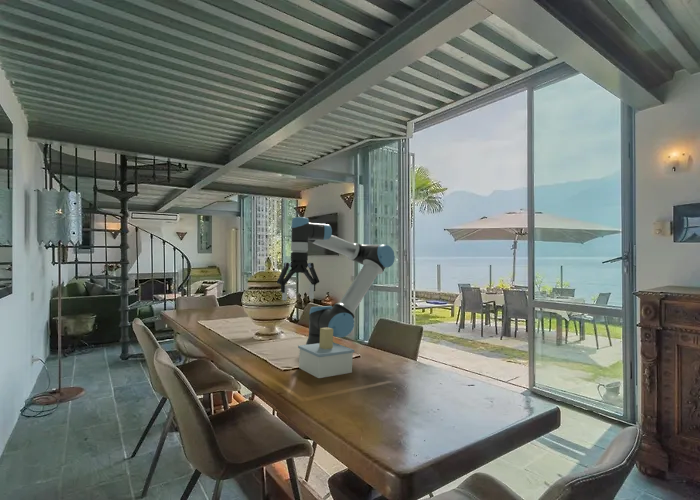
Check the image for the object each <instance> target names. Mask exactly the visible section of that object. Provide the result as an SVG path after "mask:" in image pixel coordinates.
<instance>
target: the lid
mask: <svg viewBox="0 0 700 500" xmlns="http://www.w3.org/2000/svg"><path fill="white" fill-rule="evenodd" d="M297 348H298V350H300V349H301V350H304V351H306V352H308V353H310V354H313V355H315V356H317V357H324V356H332V355H339V354H346V353H355V349H353V348H352V347H351V348H350V347H347V346H346V345H345V346H344V345H341V344H339V343H336V342H334V336H333V329H332V328H329V327H326V328H320V343H317V344H308V345H306V344H300V345H297Z"/></svg>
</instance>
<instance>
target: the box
mask: <svg viewBox="0 0 700 500" xmlns="http://www.w3.org/2000/svg"><path fill="white" fill-rule="evenodd" d="M353 353H354V352H353ZM353 353H346V354H339V355H332V356H324V357H317V356H315V355H313V354H310V353H308V352H306V351H304V350H301V349H299V355H298V357H299V359H298V360H299V361H298V368H299V369H301V370H302V371H304V372H306V373H308V374H309V375H312V377H313V376H314V377H315V378H317V379H322V378H328V377H334V376H340V375H344V374H345V375H346V374H350V373H353Z"/></svg>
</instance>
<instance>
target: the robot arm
mask: <svg viewBox="0 0 700 500" xmlns="http://www.w3.org/2000/svg"><path fill="white" fill-rule="evenodd" d="M290 230H291V232H290V233H291V234H290V235H291V236H290V237H291V239H290V242H291V243H290V251H291V253H290V262H284V263H283V268H282V270H281V272H280V274H279V276H278V278H277V281H276V284H278V285H280V293H281V295H282V296H281V297H282V299H281V300H282V301H286V302H287V298H288V296H287V295H288V285H287V283H288V282H289V281H290V280H291V279H292V277H293V275H294V274H296V273H297V274H298V273H299V274H302V273H303V275H304V276H305V277H306V279H308V281H309V282H310V284H309V292H308V293H309V295H308V298H309V299H310V300H315V299H314V298H315V296H314V295H315V292H316V286H317V284H319V283H320V279H319V277H318V274H317V272H316V269H315V266H314V262H309V263H308V257H309V253H308V251H309V243H311V244H314V245H316V246H318V247H321V248H324V249H327V250H329V251H332V252H334V253H338V254H340V255H343V256H345V257H347V258H348V259H349V260H351V261H353V262H356V263H358V264H360V265H363V266H362V267H361V269H360V271H359V272H358V274H357V275H356V276H355V278H354V280H353V281H352V283H351V284H350V286H349V287H348V289H347V290H346V292H345V294H344V295H343V297H342V298H341V299H340V301H339V302H337V303H334V305H333V306H332V305H324V306H322V305H321V306H311V307H310V309H309V314H308V315H309V318H308V319H309V320H308V338H307V340H306V343H305V345H308V344H317V343H320V328H326V327H329V328H332V329H333V337H336V338H346V337H348V336H349V335H350V334H351V333H352V331H353V329H354V327H355V317H356V315H355V312H356V310H357V308H358V307H359V305H360V303H361V302H362V301H363V299H364V297H365V296H366V294H367V292H368V291H369V290H370V287H371V286H372V285H373V283H374V281H375V280H376V278H377V277H378V275H381V274H383V272H384V271H385V269H387V268H390V267H392V266H393V265H394V264H395V263H394V262H395V259H396V257H395V251H394V249H393V247H392V246H390V245H389V244H383V243H382V244H381V243H380V244H362V243H361V244H360V243H358V242H350V241H348V240H345V239H343V238H340V237H338V236H336V235H333V234H332V233H333V229H332V226H331V225H330V224H328V223H327V224H326V223H317V222H310V219H309V218H308V217H304V216H297V217H293V218H292V219H291V229H290ZM289 268H290V269H289ZM307 268H309V269H307Z"/></svg>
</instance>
